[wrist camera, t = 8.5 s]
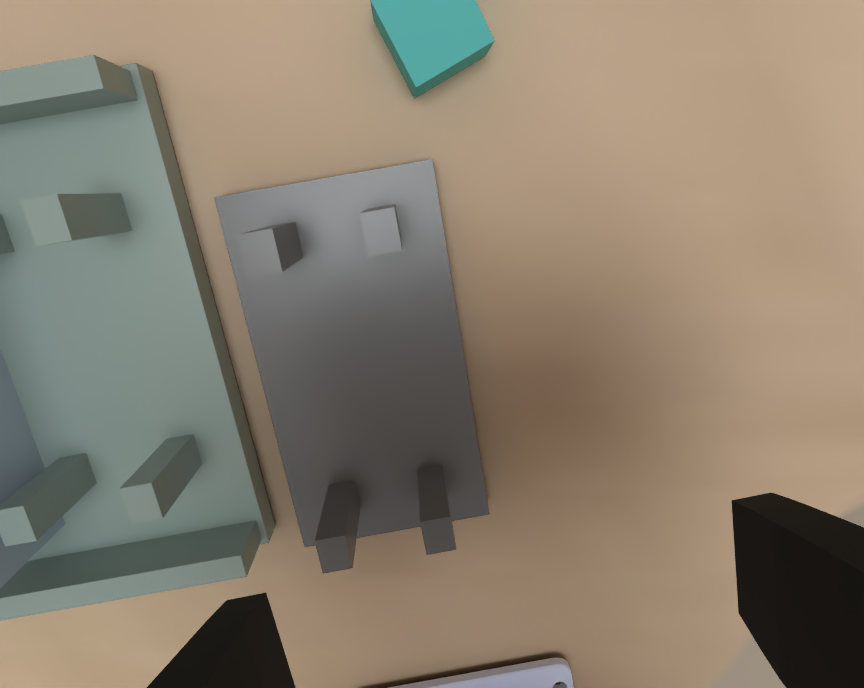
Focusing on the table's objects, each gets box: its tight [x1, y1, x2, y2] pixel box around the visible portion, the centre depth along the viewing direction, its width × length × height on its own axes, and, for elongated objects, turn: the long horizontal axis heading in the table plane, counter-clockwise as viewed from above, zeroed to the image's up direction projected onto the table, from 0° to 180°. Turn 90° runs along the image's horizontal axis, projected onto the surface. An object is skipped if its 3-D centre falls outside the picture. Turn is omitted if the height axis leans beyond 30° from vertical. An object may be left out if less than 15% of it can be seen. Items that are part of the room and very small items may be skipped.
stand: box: [214, 159, 489, 573], centre depth 16 cm, size 11×6×4 cm, turn 10°
